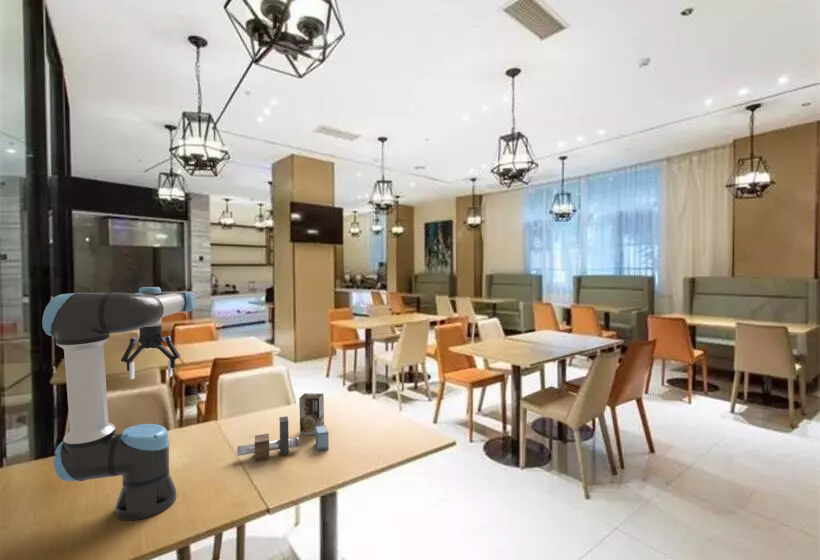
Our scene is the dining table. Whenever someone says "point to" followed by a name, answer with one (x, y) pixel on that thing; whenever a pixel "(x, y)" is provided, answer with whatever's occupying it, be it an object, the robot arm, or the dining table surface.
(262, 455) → the sleeve
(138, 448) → the robot arm
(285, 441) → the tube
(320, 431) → the socket
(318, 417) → the coffee box
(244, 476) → the dining table surface
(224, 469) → the dining table surface
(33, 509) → the dining table surface
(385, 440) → the dining table surface
